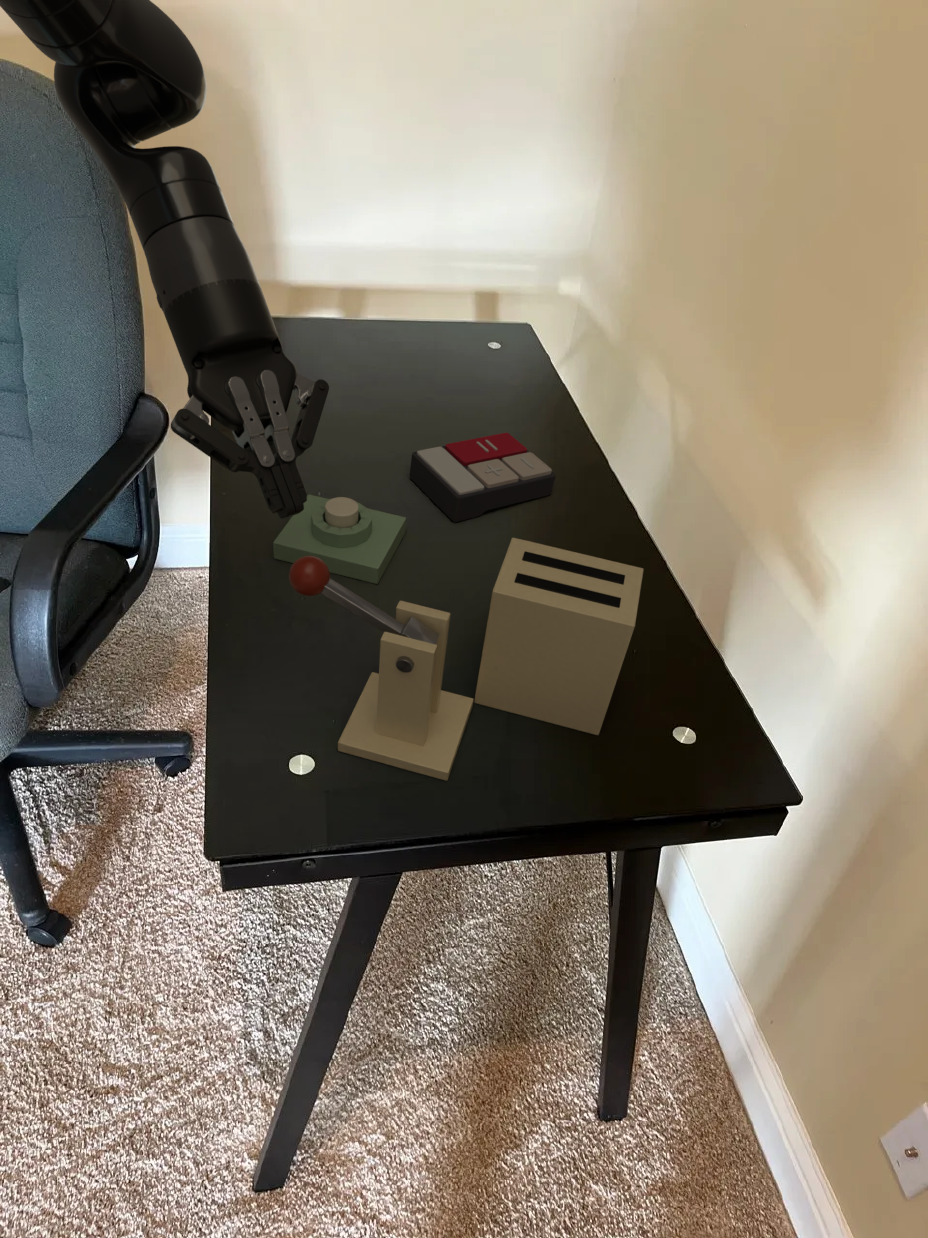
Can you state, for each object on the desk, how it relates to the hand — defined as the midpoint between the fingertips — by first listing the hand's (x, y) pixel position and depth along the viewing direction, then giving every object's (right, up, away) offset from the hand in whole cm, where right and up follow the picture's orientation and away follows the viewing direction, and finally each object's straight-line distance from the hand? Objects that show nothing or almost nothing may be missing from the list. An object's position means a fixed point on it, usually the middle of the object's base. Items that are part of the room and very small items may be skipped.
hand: (292, 513), depth 64 cm
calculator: (+15, +9, +41) cm, 45 cm away
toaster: (+21, -15, +16) cm, 30 cm away
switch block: (-1, 0, +29) cm, 29 cm away
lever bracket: (+8, -18, +11) cm, 23 cm away
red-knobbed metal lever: (+4, -8, +4) cm, 10 cm away
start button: (0, +3, +27) cm, 27 cm away
